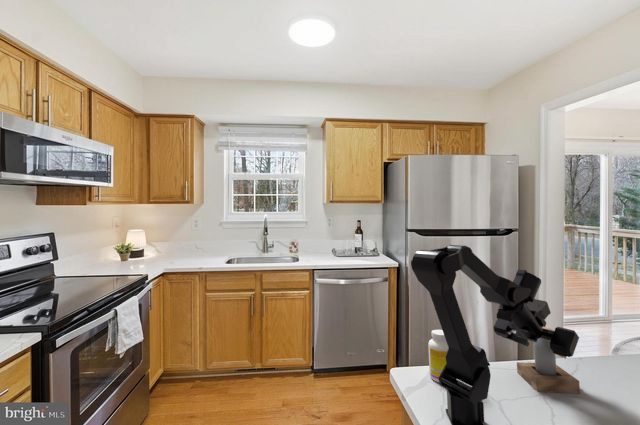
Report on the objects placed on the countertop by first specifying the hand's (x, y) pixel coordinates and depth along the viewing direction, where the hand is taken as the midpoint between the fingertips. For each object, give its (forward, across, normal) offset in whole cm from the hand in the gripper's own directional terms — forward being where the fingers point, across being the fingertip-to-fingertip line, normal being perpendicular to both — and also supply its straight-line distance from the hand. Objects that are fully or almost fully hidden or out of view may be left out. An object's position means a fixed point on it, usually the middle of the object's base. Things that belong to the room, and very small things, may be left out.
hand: (545, 350), depth 84 cm
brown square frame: (+5, 0, +6) cm, 8 cm away
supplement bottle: (-10, +16, +22) cm, 29 cm away
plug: (+5, 0, +6) cm, 8 cm away
